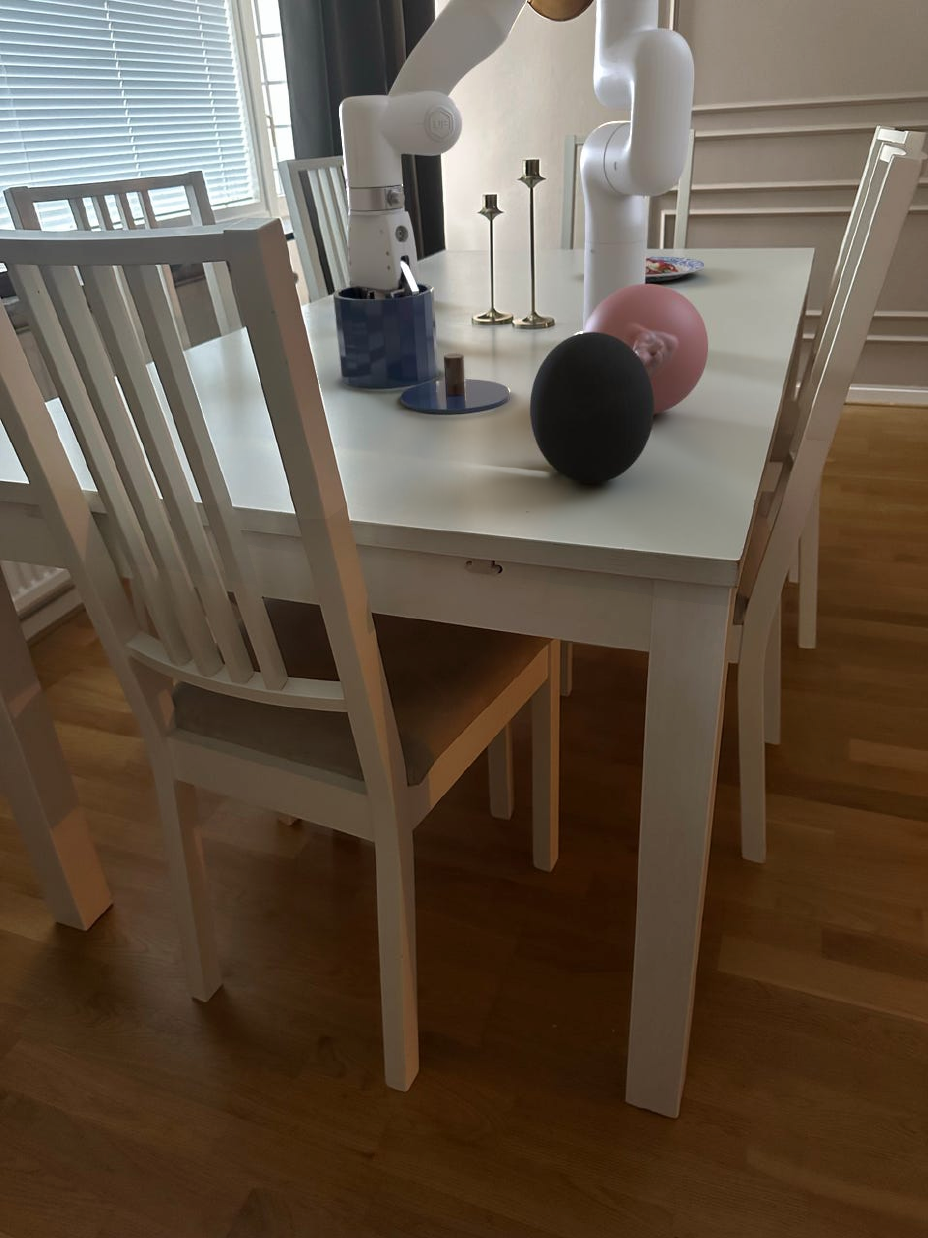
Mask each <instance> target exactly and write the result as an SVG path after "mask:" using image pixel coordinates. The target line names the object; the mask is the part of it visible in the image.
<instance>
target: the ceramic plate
mask: <svg viewBox="0 0 928 1238" xmlns="http://www.w3.org/2000/svg"><path fill="white" fill-rule="evenodd" d="M705 268H706V263H705V262H703V261H701V260H697V259H693V258H687V257H677V256H657V255H656V256H646V273H645V283H656V282H667V281H673V280H676V279H680V278H682V277H684V276H686V275H687V274H692V273H696V272H698V271H702V270H703V269H705Z"/></svg>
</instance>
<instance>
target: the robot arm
mask: <svg viewBox="0 0 928 1238" xmlns="http://www.w3.org/2000/svg"><path fill="white" fill-rule="evenodd" d="M527 2H528V0H449V1H448V2H447V4H446V5H445V7H444V8H443V9H442V10H441V12H440V13H439V14H438V15H437V16H436V18H435V19H434V21H433V22H432V23H431V25H430V26H429V28H428V29H427V30H426V32H425V33H424V34H423V36H422V37H421V38H420V40H419V41H418V43H417V44H416V45H415V46H414V48H413V49H412V50H411V52H410V54H409V55H408V57H407V59H405V62H404V63H403V65H402V67H401V69H400V70H399V73H398V75H397V77H396V78H395V80H394V82H393V84H392V86H391V88H390V89H389V92H388V94H387V95H386V94H374V95H373V94H371V95H356V96H355V95H354V96H349V97H346V98H344V99H343V100H342V101H341V102H340V104H339V122H340V130H341V131H340V133H341V143H342V153H343V163H344V172H345V173H344V174H345V185H346V196H347V205H348V206H347V207H348V214H347V257H348V269H349V276H350V280H349V282H348V285H349V287H352V289H353V290H354V292H355V293H356V294H357V296H358V297H359V299H375V294H374V295H373V293H372V292H374V290H378V291H385V296H386V299H389V298H394V295H395V294H398V297H397V298H399V297H406V296H414V295H418V294H419V290H418V287H417V285H418V283H420V281H419V280H420V277H419V263H418V256H417V255H418V254H417V248H416V240H415V235H414V228H413V225H412V221H411V217H410V213H409V212H408V211H407V210H405V209H406V208H405V200H406V196H405V194H404V185H403V184H404V181H403V166H402V165H403V164H402V155H403V154H404V155H416V156H428V157H432V156H433V157H434V156H438V155H442V154H444V153H446V152H448V151H450V150H451V149H452V148H453V147H454V146H455V145H456V144H457V143H458V140H459V139H460V136H461V134H462V131H463V117H462V113H461V110H460V108H459V106H458V105H457V104H456V102H455V101H454V100H453V99H452V97H450V95H451V93H452V92H453V90H454V89H455V87H456V86H457V85H458V84H459V83H460V81H461V80H462V79H463V78H464V77H465V76H466V75H467V74H468V73H469V72H470V71H471V70H473V69H474V68H475V67H477V66H478V65H479V64H481V63H482V62H484V61H485V60H487V59H488V58H489V57H491V56H492V55H493V54H495V52H496V51H498V49H499V48H500V47H501V46H502V45H503V44H504V43H505V42H506V40H507V39H508V37H509V36H510V34H511V32H512V30H513V28H514V26H515V24H516V22H517V20H518V19H519V17H520V15H521V13H522V11H523V9H524V7H525V5H526V4H527ZM659 2H660V0H596V2H595V3H596V7H595V8H596V9H595V11H596V13H595V14H596V20H595V36H594V37H595V39H594V55H593V56H594V57H593V58H594V59H593V62H594V63H593V78H592V79H593V81H592V82H593V90H594V93H595V97H596V99H597V101H598V102H599V103H600V105H602V106H604V107H606V108H607V109H610V110H615V111H616V110H617V111H630V120H618V121H610V122H606V123H604V124H602V125H600V126H597V127H596V128H595V129H594V130H593V131H591V132H590V133H589V135H588V136H587V138H586V139H585V141H584V144H583V146H582V148H581V151H580V158H579V172H580V180H581V188H582V193H583V194H582V195H583V202H584V205H583V206H584V254H583V255H584V256H583V257H584V265H583V312H582V314H583V317H582V318H583V319H582V330H581V331H579V332H576V333H575V334H574V335H577V334H581V333H582V332H583V329H584V327H585V324H586V322H587V320H588V319H589V317H590V315H591V314H592V312H593V311H594V310H595V309H596V307H597V306H598V305H599V304H600V303H601V302H602V301H603V300H605V299H606V298H607V297H609V296H610V295H611V294H613V293H615V292H617V291H619V290H621V289H623V288H626V287H629V286H633V285H638V284H646V282H645V273H646V257H647V253H648V251H647V250H648V237H649V236H648V232H649V221H648V210H647V206H646V201H645V198H644V197H658V196H662V195H664V194H666V193H668V192H669V191H671V190H672V189H673V188H674V187H675V186H676V184H678V182H679V181H680V178H681V177H682V174H683V172H684V170H685V165H686V162H687V157H688V151H689V144H690V143H689V141H690V131H691V124H692V123H691V122H692V112H693V100H694V90H695V78H696V77H695V72H696V71H695V63H694V57H693V53H692V50H691V48H690V45H689V43H688V42H687V41H686V39H685V38H684V37H683V36H682V35H681V34H680V33H678V31H675V30H674V29H670V28H665V27H662V28H660V27H659Z"/></svg>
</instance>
